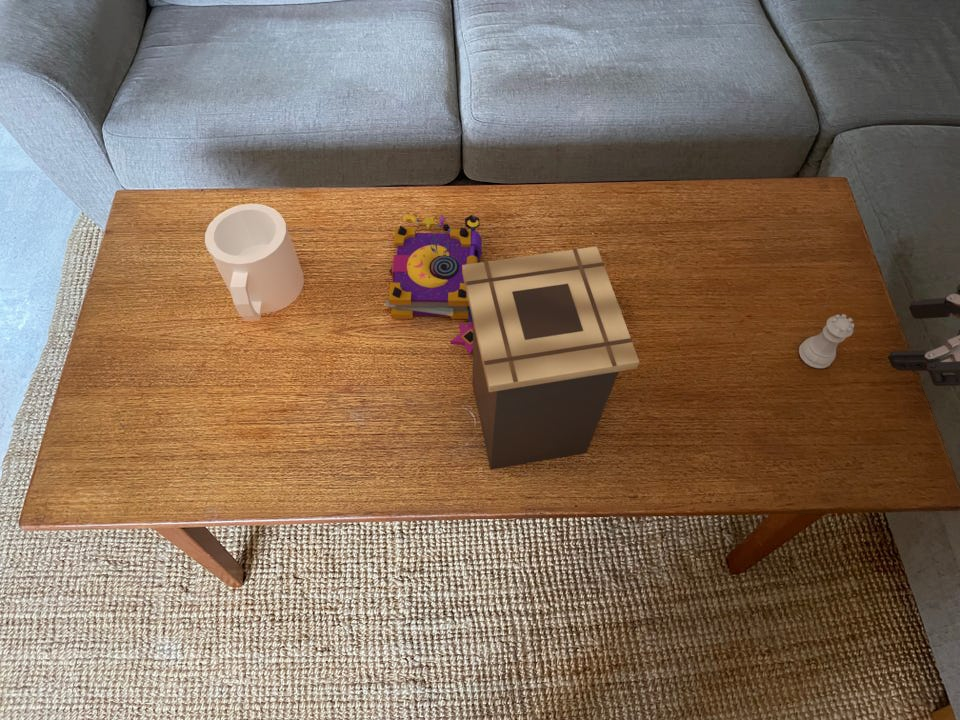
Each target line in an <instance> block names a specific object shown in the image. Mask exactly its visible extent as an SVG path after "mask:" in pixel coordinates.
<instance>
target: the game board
mask: <svg viewBox="0 0 960 720" xmlns="http://www.w3.org/2000/svg"><path fill="white" fill-rule="evenodd" d="M462 274H463V278H464V283H465V287H466V291H467V296H468V300H469V305H470V309H471V314H472V318H473V323H474V327H475V332H476V336H477V341H478V345H479V350H480V354H481V359H482V363H483V368H484V372H485V376H486V381H487V385H488V390H489V392H494V391H500V390H506V389H512V388H519V387H525V386H531V385H537V384H543V383H550V382H556V381H562V380H568V379H574V378H581V377H587V376H593V375H599V374H605V373H612V372H618V371H619V372H622V371H629V370H636V369H638V367H639V364H640V360H639V356H638V354H637V351H636V348H635V345H634V341H633V339H632V337H631V334H630V333H629V329H628V327H627V326H628V325H627V324H626V321H625V318H624V315H623V313H622V309H621V308H620V307H621V306H620V307H619V305H618V304H619V302H618V299H617V297H616V293H615V291H614V288H613V285H612V283H611V281H610V278H609V275H608V271H607V270H606V267H605V263H604V262H603V258H602V255H601V253H600V250H599V247H598V246H589V247H588V246H587V247H583V248H581V247H580V248H572V249H568V250H561V251H560V250H559V251H552V252H547V253H537V254H532V255H524V256H516V257H509V258H503V259H496V260H495V259H494V260H483V261H482V262H481V261H480V262H478V263H473V264H466V265H462ZM614 293H615V294H614ZM620 309H621V310H620Z"/></svg>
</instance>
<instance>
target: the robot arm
mask: <svg viewBox="0 0 960 720" xmlns="http://www.w3.org/2000/svg"><path fill="white" fill-rule="evenodd" d="M956 289H957V291H955V292H954V293H951V294H949V295H947V296H946V297H939V298H928V299H920V300H916V301H915V300H914V301H911V303H910V304H909V307H908V308H909V311H910V313H911V316H912V318H914V319H917V320H920V319H936V318H937V319H939V318H950V317H951V315H952V316H953V317H955V318H958V319H960V284H959V285H957V286H956ZM947 356H949V357H948V358H946V359H943V358H945V357H947ZM887 358H888V361H889V363H890V366H891V367H892V368H893V369H895V370H897V371H901V372H902V371H903V372H904V371H905V372H906V371H907V372H909V371H912V372H913V371H915V372H918V371H919V372H920V371H922V372H923V371H926V372H928V374H929V377H930V379H931V383H932V384H933V385H934V386H936V387H949V386H950V387H952V386H953V387H954V386H955V387H957V386H960V329H958V332H957V335H956V336H954V337H952V338H949V339H948V340H946V341H945V343H944V344H943V345H941V346H939V347H937V348H934V349H931V350H929V351H927V350H925V349H921V350H920V349H919V350H918V349H917V350H892V351H890V352H889V354H888V356H887ZM941 359H943V360H941Z"/></svg>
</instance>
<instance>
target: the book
mask: <svg viewBox="0 0 960 720" xmlns="http://www.w3.org/2000/svg"><path fill="white" fill-rule="evenodd" d="M436 218H437V217H436V215H433V216H431V217H428V216H426V215H425V214H423V219H424V220H420V219H418V218H417V216H415V215H413V214H406V215H405V216H403V218H402V221H403V223H405V222H406V221H409V220H410V221H412V223H413V224H415V223H416V222H417V223H418V226H425V227H426V229H427V231H429V230H430V228H431V227H441V228H442V230H443V231H444V232H440V233H438V232H417V230H416V227H413V226H411V227H410V226H407V227H406V226H402V225H400V226H395V228H394V229H395V230H394V239H393V245H394V249H396V254H393V260H392V266H391V268H390V269H389V273H390V275H391V276H390V277H391V279H392V282H389V290H388V299H387V300H386V301H385V302H384V304H383V305H382V307H385V308H391V309H390V310H391V312H390V317H391V319H401V320H403V319H404V320H405V319H406V320H407V319H408V320H413V319H414V316H417V317H419V316H421V317H423V316H424V317H425V316H426V317H450V320H467V323H466V324H463V323H462V322H458V327H459V331H460V334H458V335H457V336H456V337H454V338H453V339H451V340H450V341H449V342H450V343H449V344H450V345H454V346H463V347H464V348H465V350H466V352H467V355H468V357H471V355H473V318H472V314H471V309H470V305H469V300H468V296H467V291H466V287H465V283H464V278H463V274H462V265H466V264H473V263H479V261H480V259H481V258H482V254H483V239H482V235H481V234H480V232H478V231H477V230H476V229H477V228H479V227H480V218H479V217H477V216H475V215H473V214H471V215H469V216H467V217H465V218H464V225H465V227H460V228H451V227H450V225H449V224H447V223H444V222H445V220H446V218H445V217H444V216H443V215H442V216H440V217H439V223H438V222H436V221H435V220H436Z"/></svg>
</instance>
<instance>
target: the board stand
mask: <svg viewBox="0 0 960 720" xmlns="http://www.w3.org/2000/svg"><path fill="white" fill-rule="evenodd" d="M619 372H620V371H618V372H612V373H605V374H599V375H593V376H587V377H581V378H574V379H568V380H562V381H556V382H550V383H543V384H537V385H531V386H525V387H519V388H512V389H506V390H500V391H494V392H489V390H488V385H487V381H486V376H485V372H484V368H483V363H482V359H481V354H480V350H479V345H478V341H477V336H476V332H475V327H474V323H473V352H472V388H473V393H474V398H475V402H476V408H477V412H478V416H479V421H480V426H481V431H482V436H483V442H484V445H485V449H486V455H487V459H488V460H487V461H488V464H489V469H490V470H497V469H503V468H507V467H508V468H509V467H513V466H520V465H524V464H530V463H531V464H532V463H537V462H543V461H547V460H554V459H559V458H566V457H572V456H576V455H583V454H586V453H587V452H588V450H589V448H590V445H591V442H592V440H593V438H594V436H595V432H596V430H597V427H598V425H599V423H600V421H601V418H602V415H603V412H604V410H605V408H606V405H607V402H608V400H609V398H610V395H611V393H612V390H613V388H614V385H615V382H616V381H617V377H618V375H619Z"/></svg>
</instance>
